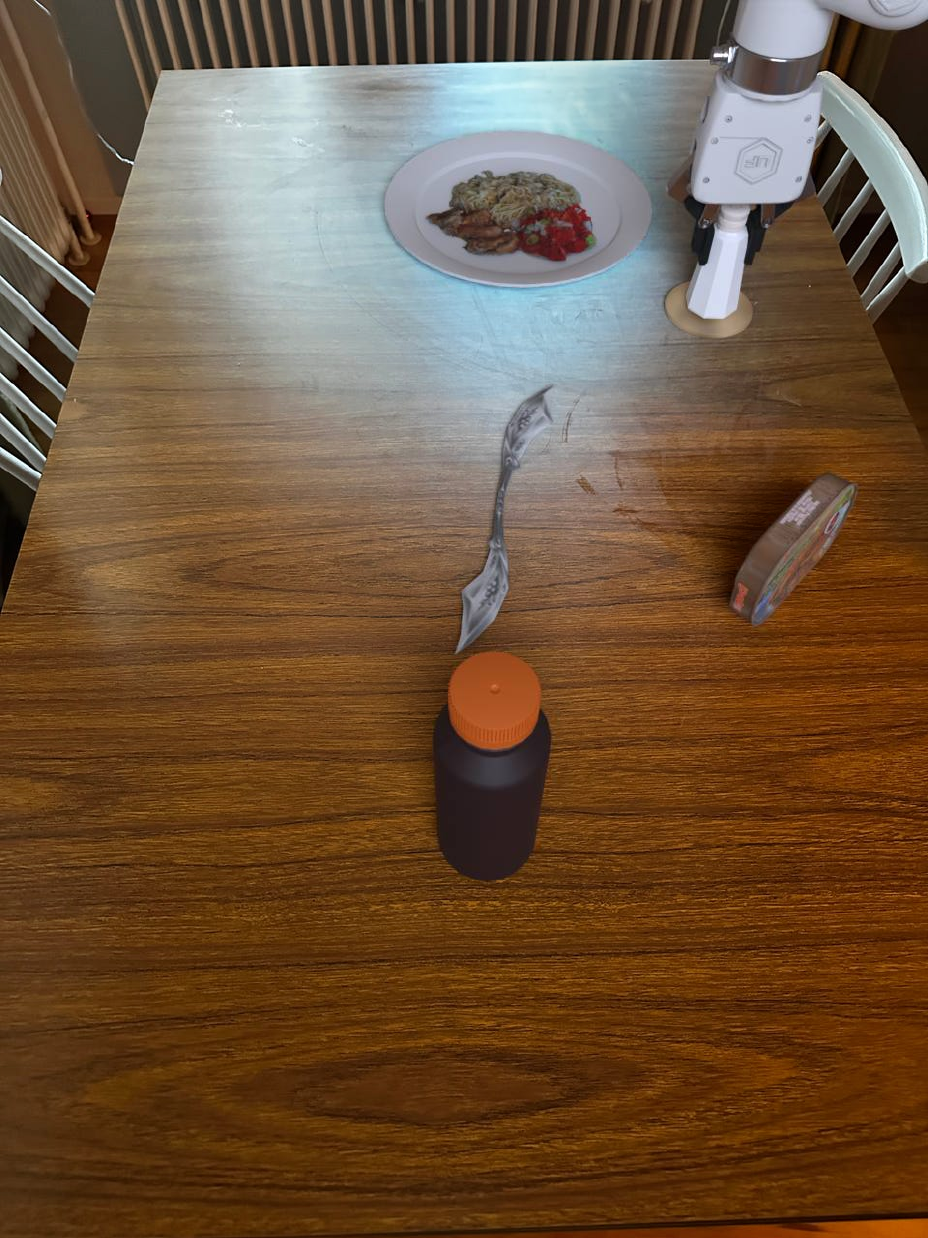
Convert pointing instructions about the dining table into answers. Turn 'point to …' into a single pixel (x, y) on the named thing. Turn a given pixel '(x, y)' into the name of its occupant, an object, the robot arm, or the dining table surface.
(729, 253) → the pepper shaker
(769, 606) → the tin
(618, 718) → the dining table surface
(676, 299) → the cork coaster
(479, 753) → the bottle
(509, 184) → the plated food
